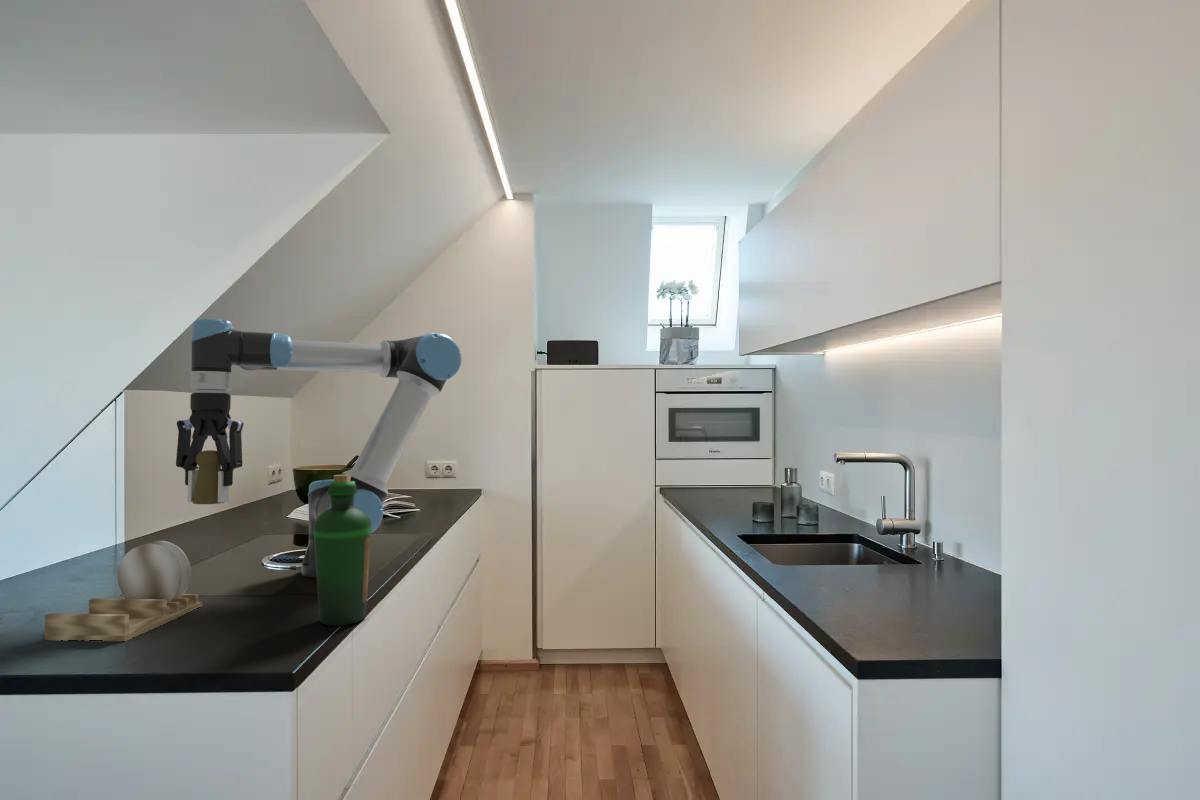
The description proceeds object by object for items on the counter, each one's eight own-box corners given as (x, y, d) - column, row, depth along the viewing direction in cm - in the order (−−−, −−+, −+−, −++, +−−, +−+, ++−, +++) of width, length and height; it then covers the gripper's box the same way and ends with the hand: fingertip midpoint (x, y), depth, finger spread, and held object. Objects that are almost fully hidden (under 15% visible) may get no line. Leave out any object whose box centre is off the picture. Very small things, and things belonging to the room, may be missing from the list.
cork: (201, 500, 155) (202, 449, 155) (229, 500, 155) (231, 450, 155) (186, 504, 149) (188, 451, 149) (216, 504, 149) (218, 451, 149)
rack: (202, 606, 149) (202, 539, 149) (124, 641, 127) (124, 562, 127) (133, 605, 150) (133, 538, 150) (44, 640, 128) (44, 561, 128)
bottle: (383, 615, 142) (382, 473, 142) (347, 631, 132) (346, 478, 132) (338, 610, 145) (338, 472, 145) (300, 626, 135) (300, 477, 135)
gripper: (156, 391, 149) (153, 502, 149) (242, 391, 148) (240, 504, 147) (180, 392, 157) (178, 498, 156) (263, 393, 155) (260, 500, 155)
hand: (208, 501), depth 152 cm, fingers closed on cork, 6 cm apart
